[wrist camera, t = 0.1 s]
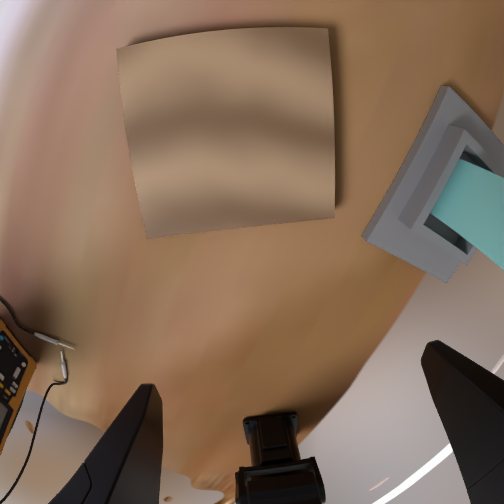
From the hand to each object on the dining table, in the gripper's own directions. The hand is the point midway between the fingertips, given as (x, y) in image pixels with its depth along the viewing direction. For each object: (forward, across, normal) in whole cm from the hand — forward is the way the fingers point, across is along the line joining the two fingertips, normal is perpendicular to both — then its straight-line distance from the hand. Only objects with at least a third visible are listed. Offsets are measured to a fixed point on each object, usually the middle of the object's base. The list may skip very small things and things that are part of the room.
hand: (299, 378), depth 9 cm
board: (+15, +1, -6) cm, 16 cm away
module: (+14, -16, 0) cm, 21 cm away
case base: (+15, -16, 0) cm, 22 cm away
